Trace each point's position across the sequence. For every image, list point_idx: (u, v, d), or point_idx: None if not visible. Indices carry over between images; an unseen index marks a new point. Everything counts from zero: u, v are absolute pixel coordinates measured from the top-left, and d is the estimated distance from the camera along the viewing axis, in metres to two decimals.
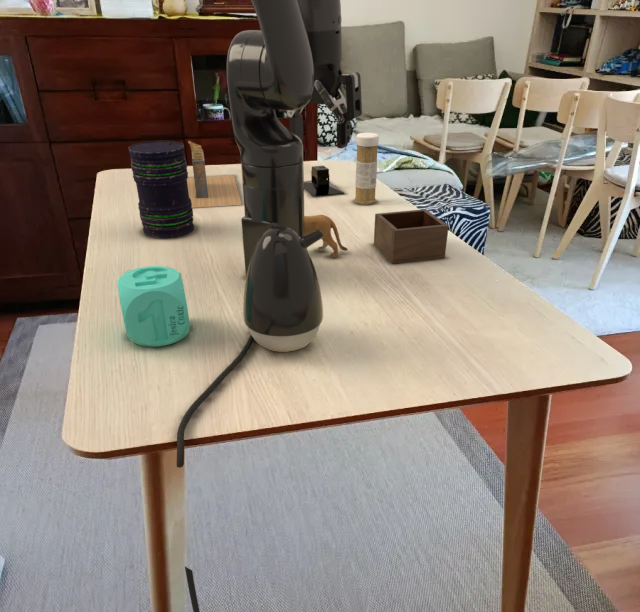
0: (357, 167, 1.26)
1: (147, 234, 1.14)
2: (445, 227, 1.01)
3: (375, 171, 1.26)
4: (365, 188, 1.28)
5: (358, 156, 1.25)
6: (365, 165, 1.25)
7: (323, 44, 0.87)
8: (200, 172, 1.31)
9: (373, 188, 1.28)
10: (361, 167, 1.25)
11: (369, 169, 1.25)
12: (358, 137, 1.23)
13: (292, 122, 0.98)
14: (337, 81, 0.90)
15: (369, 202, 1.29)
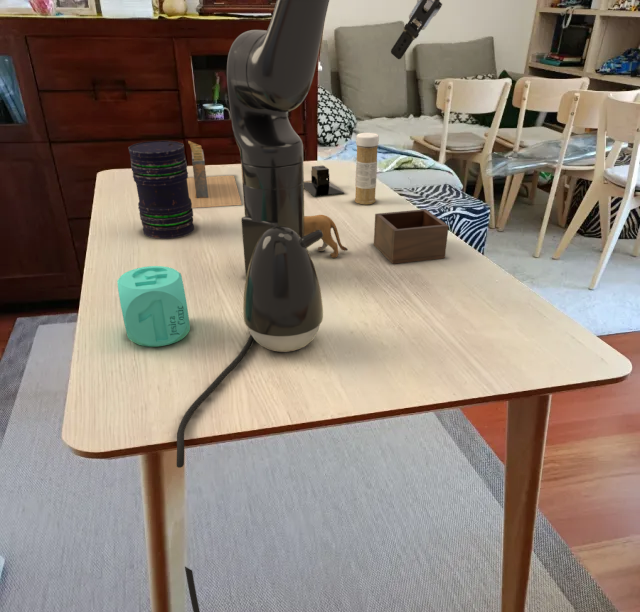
0: (357, 167, 1.26)
1: (147, 234, 1.14)
2: (445, 227, 1.01)
3: (375, 171, 1.26)
4: (365, 188, 1.28)
5: (358, 156, 1.25)
6: (365, 165, 1.25)
7: None
8: (200, 172, 1.31)
9: (373, 188, 1.28)
10: (361, 167, 1.25)
11: (369, 169, 1.25)
12: (358, 137, 1.23)
13: None
14: None
15: (369, 202, 1.29)
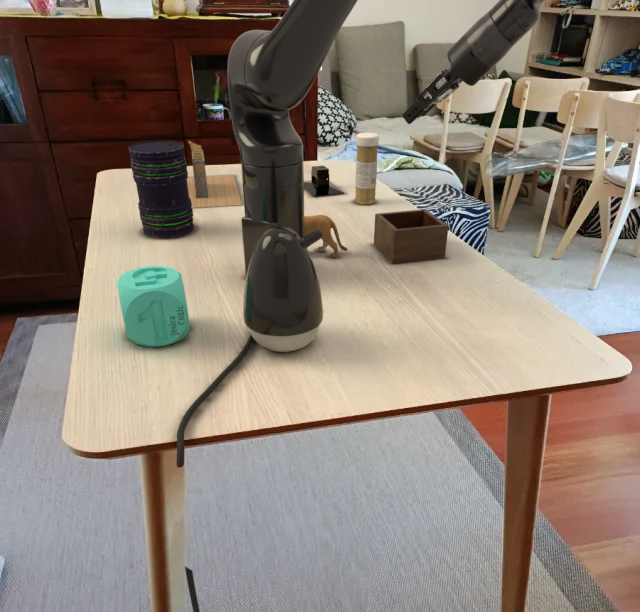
0: (357, 167, 1.26)
1: (147, 234, 1.14)
2: (445, 227, 1.01)
3: (375, 171, 1.26)
4: (365, 188, 1.28)
5: (358, 156, 1.25)
6: (365, 165, 1.25)
7: (459, 47, 1.06)
8: (200, 172, 1.31)
9: (373, 188, 1.28)
10: (361, 167, 1.25)
11: (369, 169, 1.25)
12: (358, 137, 1.23)
13: None
14: None
15: (369, 202, 1.29)
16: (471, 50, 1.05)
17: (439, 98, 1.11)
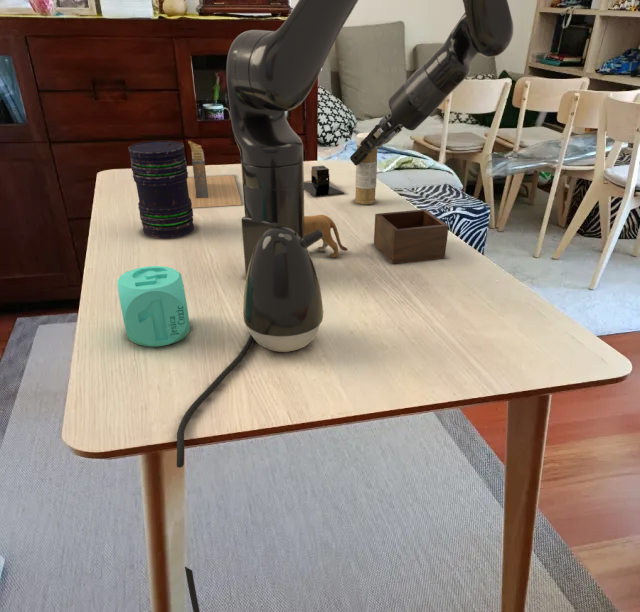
0: (357, 167, 1.26)
1: (147, 234, 1.14)
2: (445, 227, 1.01)
3: (375, 171, 1.26)
4: (365, 188, 1.28)
5: None
6: (365, 165, 1.25)
7: (398, 96, 1.14)
8: (200, 172, 1.31)
9: (373, 188, 1.28)
10: (361, 167, 1.25)
11: (369, 169, 1.25)
12: (358, 137, 1.23)
13: None
14: (382, 124, 1.17)
15: (369, 202, 1.29)
16: (409, 99, 1.13)
17: (381, 143, 1.20)
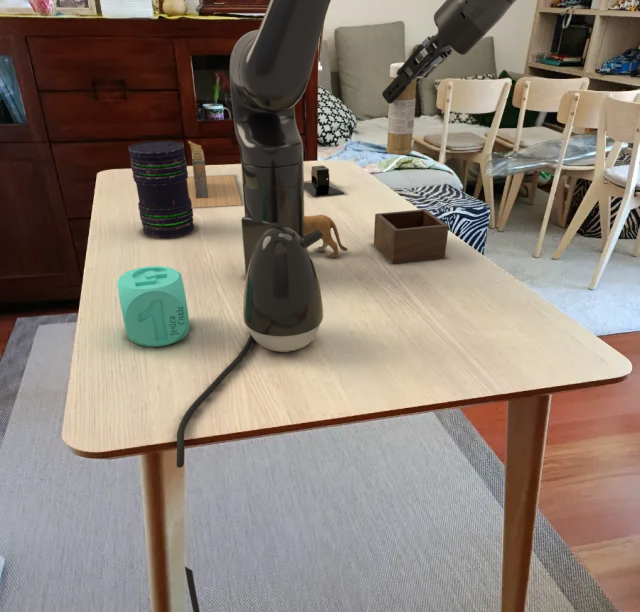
0: (390, 107, 1.01)
1: (147, 234, 1.14)
2: (445, 227, 1.01)
3: (413, 112, 1.01)
4: (400, 133, 1.02)
5: None
6: (401, 103, 1.00)
7: (447, 7, 0.89)
8: (200, 172, 1.31)
9: (410, 134, 1.03)
10: (396, 106, 1.00)
11: (406, 108, 1.00)
12: (393, 67, 0.97)
13: None
14: (426, 46, 0.92)
15: (405, 152, 1.04)
16: (462, 10, 0.88)
17: (423, 72, 0.95)
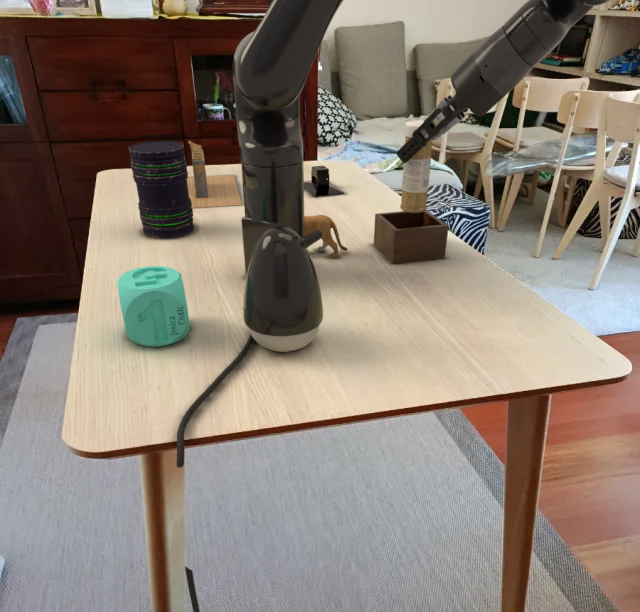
0: (405, 165, 0.98)
1: (147, 234, 1.14)
2: (445, 227, 1.01)
3: (428, 170, 0.98)
4: (415, 192, 0.99)
5: None
6: (416, 163, 0.96)
7: (466, 70, 0.86)
8: (200, 172, 1.31)
9: (425, 192, 1.00)
10: (411, 165, 0.97)
11: (422, 167, 0.97)
12: (408, 126, 0.94)
13: None
14: (442, 108, 0.89)
15: (419, 210, 1.01)
16: (480, 74, 0.85)
17: (439, 133, 0.92)
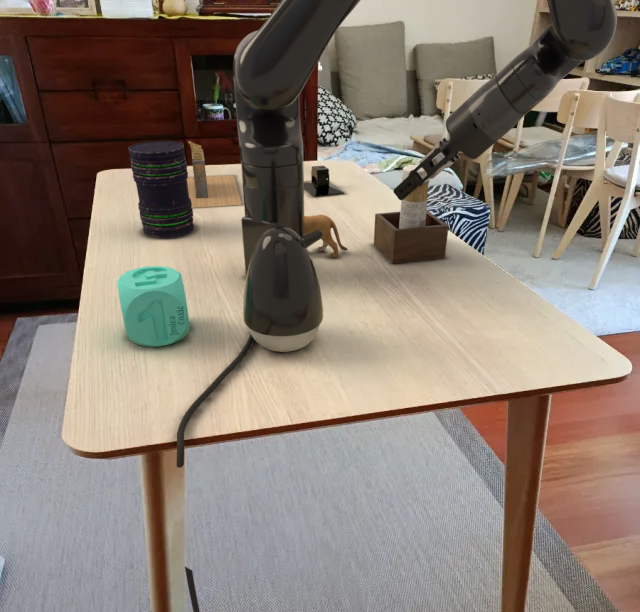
0: (402, 207, 1.02)
1: (147, 234, 1.14)
2: (445, 227, 1.01)
3: (424, 212, 1.02)
4: None
5: None
6: (413, 205, 1.00)
7: (460, 116, 0.90)
8: (200, 172, 1.31)
9: None
10: (408, 207, 1.01)
11: (418, 209, 1.01)
12: (405, 171, 0.98)
13: None
14: None
15: None
16: (474, 121, 0.88)
17: (436, 173, 0.95)
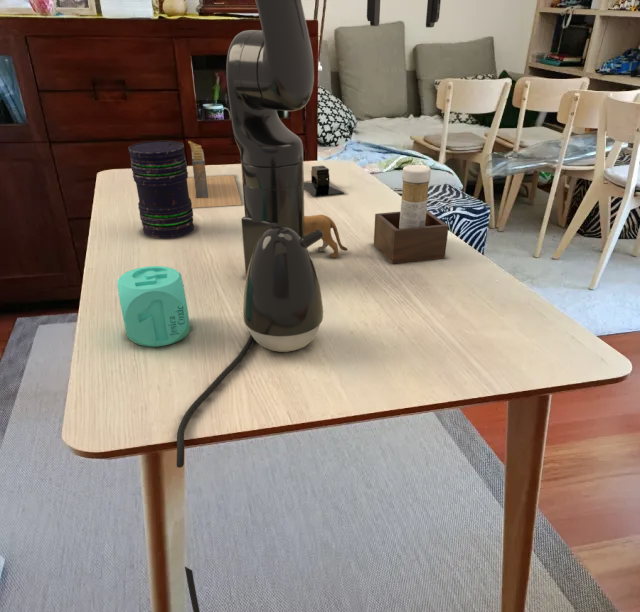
0: (402, 207, 1.02)
1: (147, 234, 1.14)
2: (445, 227, 1.01)
3: (424, 212, 1.02)
4: None
5: (404, 194, 1.00)
6: (413, 205, 1.00)
7: None
8: (200, 172, 1.31)
9: None
10: (408, 207, 1.01)
11: (418, 209, 1.01)
12: (405, 171, 0.98)
13: (372, 0, 0.88)
14: None
15: None
16: None
17: None
